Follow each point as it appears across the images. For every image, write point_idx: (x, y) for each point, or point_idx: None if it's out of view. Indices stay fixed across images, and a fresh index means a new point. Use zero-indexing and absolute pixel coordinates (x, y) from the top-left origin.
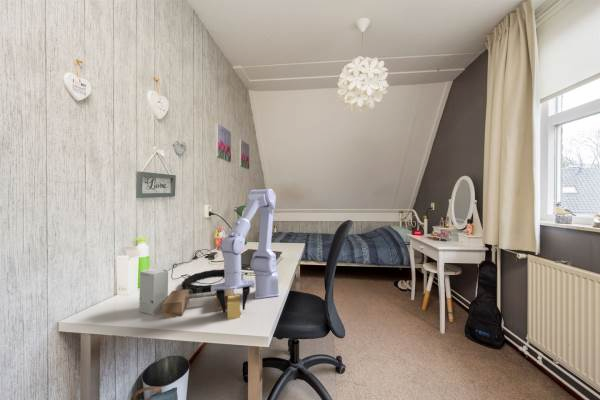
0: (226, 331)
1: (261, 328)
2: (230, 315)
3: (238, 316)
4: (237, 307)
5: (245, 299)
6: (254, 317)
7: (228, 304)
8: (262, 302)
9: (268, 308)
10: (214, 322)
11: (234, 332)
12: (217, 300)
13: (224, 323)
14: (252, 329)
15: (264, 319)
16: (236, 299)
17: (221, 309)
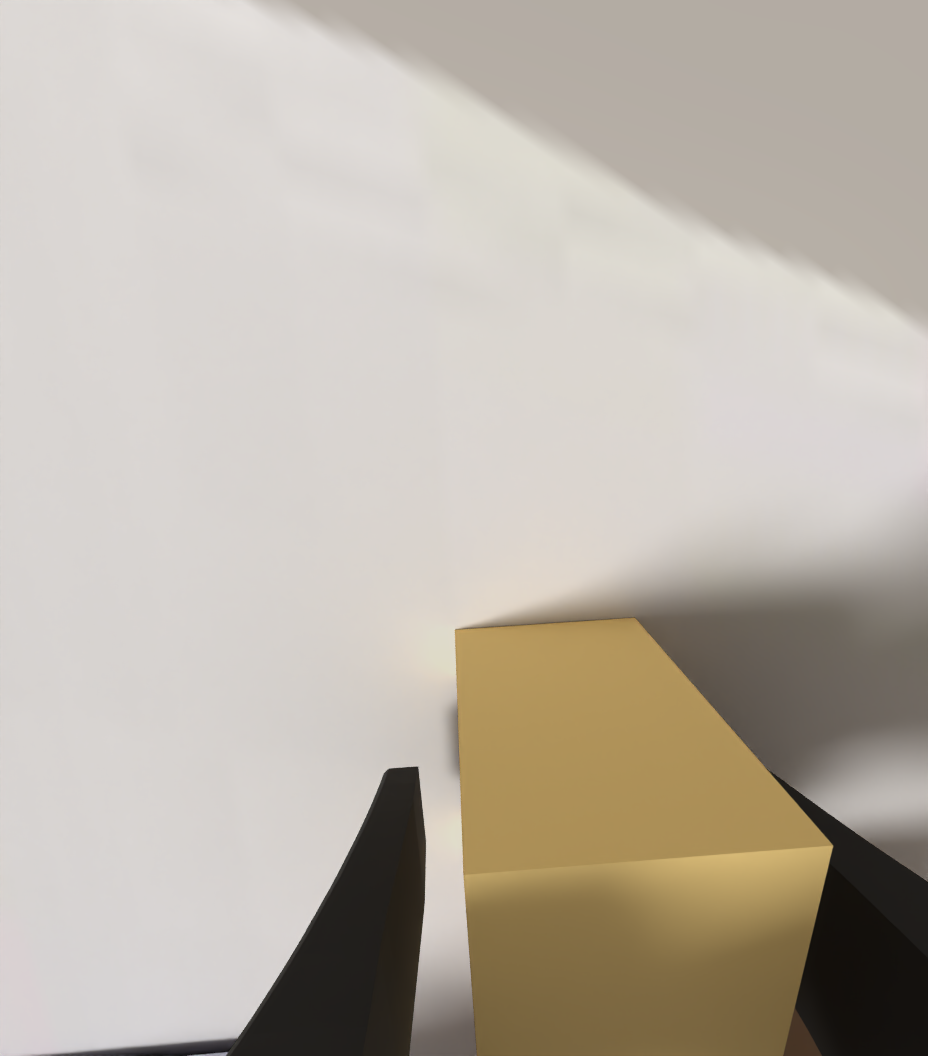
0: (657, 226)
1: (21, 149)
2: (611, 650)
3: (478, 638)
4: (511, 747)
5: (296, 989)
6: (224, 583)
7: (779, 823)
8: (171, 957)
9: (44, 797)
10: (820, 572)
11: (521, 143)
12: None
13: (682, 507)
14: (196, 161)
15: (35, 480)
16: (560, 1024)
17: None
